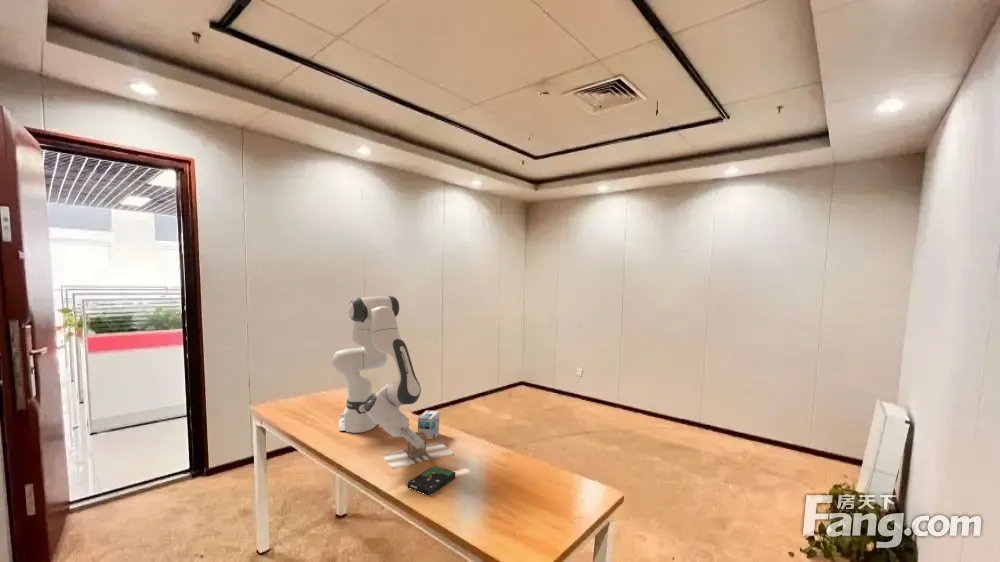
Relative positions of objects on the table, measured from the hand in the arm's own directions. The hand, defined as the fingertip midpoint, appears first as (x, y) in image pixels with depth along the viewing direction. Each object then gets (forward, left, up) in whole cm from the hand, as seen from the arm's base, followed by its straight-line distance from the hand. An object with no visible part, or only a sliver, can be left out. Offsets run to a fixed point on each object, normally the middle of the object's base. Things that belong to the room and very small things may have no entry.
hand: (420, 443), depth 165 cm
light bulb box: (-17, +11, -6) cm, 21 cm away
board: (0, -1, -5) cm, 6 cm away
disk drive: (+21, -4, -6) cm, 23 cm away
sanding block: (0, -2, -4) cm, 4 cm away
